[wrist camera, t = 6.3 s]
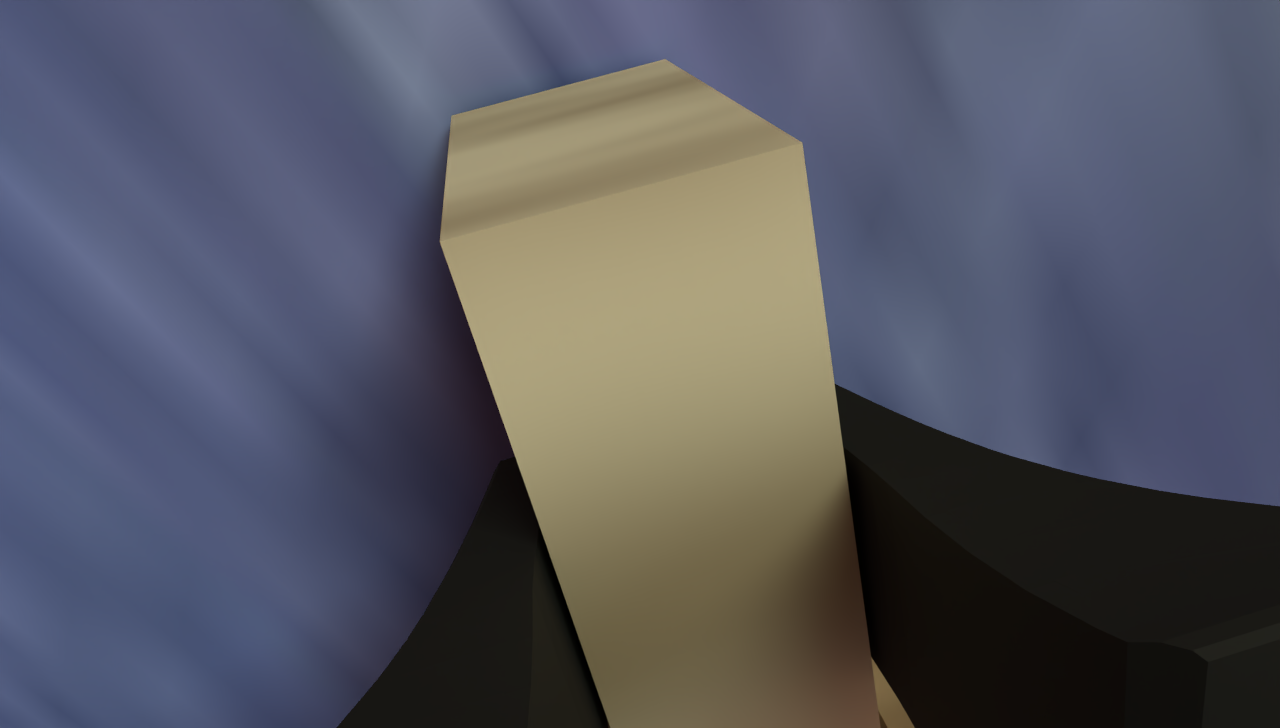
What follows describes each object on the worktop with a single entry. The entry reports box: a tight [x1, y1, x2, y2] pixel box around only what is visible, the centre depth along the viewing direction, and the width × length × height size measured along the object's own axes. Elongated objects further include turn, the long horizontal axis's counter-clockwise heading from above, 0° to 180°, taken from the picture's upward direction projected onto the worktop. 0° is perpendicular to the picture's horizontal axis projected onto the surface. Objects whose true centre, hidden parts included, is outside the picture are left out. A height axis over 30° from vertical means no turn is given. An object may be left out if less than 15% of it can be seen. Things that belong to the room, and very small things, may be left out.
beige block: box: [440, 59, 881, 728], centre depth 12 cm, size 10×3×6 cm, turn 13°
